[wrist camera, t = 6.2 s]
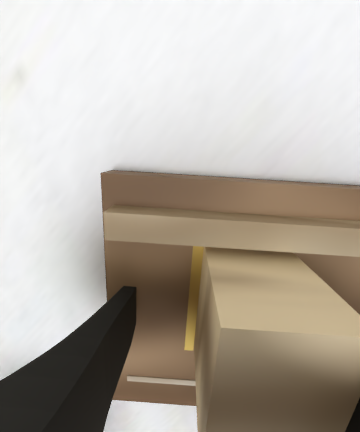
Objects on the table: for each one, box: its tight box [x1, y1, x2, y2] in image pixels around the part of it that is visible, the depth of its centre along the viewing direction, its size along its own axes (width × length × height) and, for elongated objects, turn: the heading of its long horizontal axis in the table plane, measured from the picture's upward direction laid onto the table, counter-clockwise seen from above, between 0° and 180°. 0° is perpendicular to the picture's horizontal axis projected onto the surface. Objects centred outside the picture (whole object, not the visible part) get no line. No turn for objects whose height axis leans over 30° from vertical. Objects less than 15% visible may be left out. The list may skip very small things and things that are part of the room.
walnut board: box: [101, 170, 360, 406], centre depth 11 cm, size 14×22×3 cm, turn 87°
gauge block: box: [194, 247, 360, 432], centre depth 9 cm, size 10×4×5 cm, turn 177°
